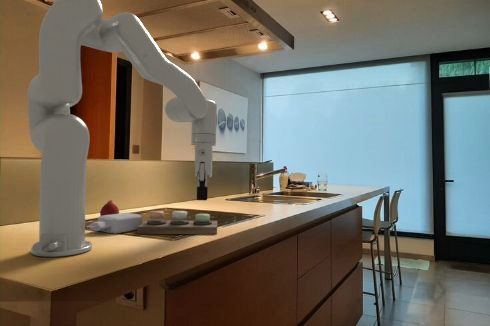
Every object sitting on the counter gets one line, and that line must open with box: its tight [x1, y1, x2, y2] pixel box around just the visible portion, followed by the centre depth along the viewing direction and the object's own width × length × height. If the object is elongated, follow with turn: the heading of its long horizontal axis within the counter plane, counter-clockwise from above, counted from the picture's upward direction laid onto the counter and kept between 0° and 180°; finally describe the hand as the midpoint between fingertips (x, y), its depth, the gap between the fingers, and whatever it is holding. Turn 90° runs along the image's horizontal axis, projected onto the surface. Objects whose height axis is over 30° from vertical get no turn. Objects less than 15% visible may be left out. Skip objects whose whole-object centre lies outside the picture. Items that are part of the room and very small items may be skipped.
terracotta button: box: [148, 210, 165, 220], centre depth 112 cm, size 4×4×2 cm
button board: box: [136, 219, 218, 235], centre depth 112 cm, size 12×23×3 cm, turn 94°
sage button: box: [194, 213, 211, 222], centre depth 113 cm, size 4×4×2 cm
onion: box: [99, 199, 120, 217], centre depth 121 cm, size 6×6×8 cm
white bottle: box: [85, 212, 143, 235], centre depth 109 cm, size 5×9×15 cm
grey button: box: [171, 210, 188, 220], centre depth 112 cm, size 4×4×2 cm
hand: (202, 199), depth 113 cm, fingers closed
